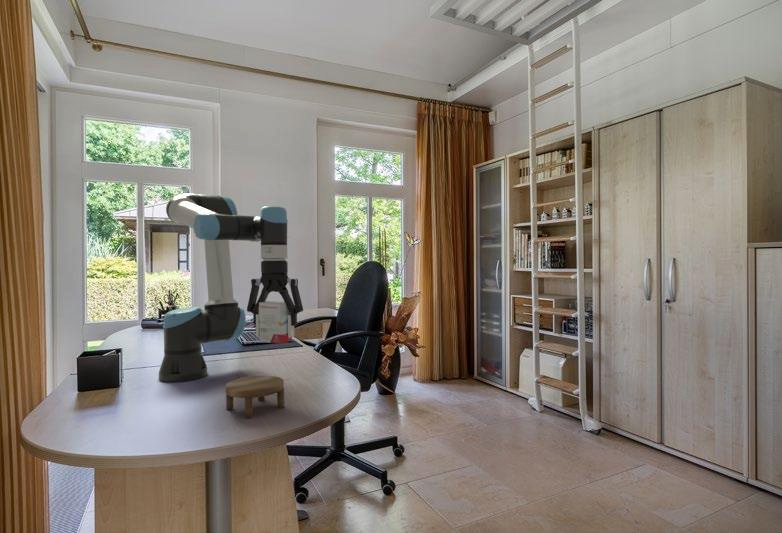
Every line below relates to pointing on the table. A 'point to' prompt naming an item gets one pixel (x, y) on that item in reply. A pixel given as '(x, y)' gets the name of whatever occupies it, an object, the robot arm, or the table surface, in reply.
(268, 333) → the ink box
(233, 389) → the footstool
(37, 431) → the table surface
